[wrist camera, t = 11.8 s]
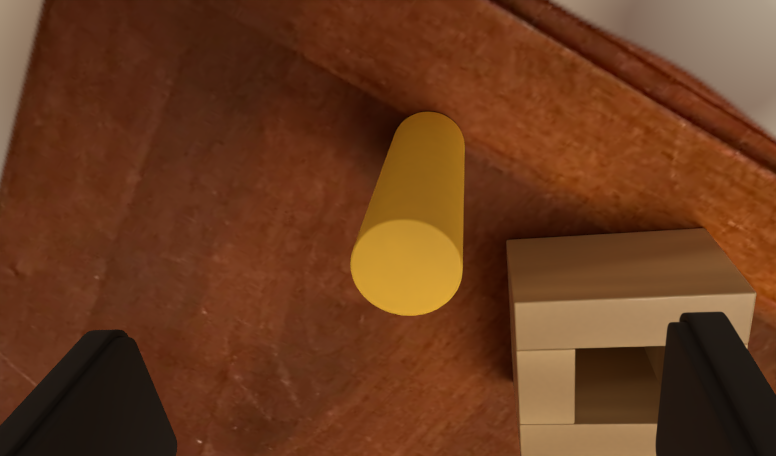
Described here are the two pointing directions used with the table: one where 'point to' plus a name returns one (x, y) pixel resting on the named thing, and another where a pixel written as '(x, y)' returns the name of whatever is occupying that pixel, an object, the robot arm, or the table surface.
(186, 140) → the table surface
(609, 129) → the table surface
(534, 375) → the stand
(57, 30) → the table surface
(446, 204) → the peg
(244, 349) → the table surface
